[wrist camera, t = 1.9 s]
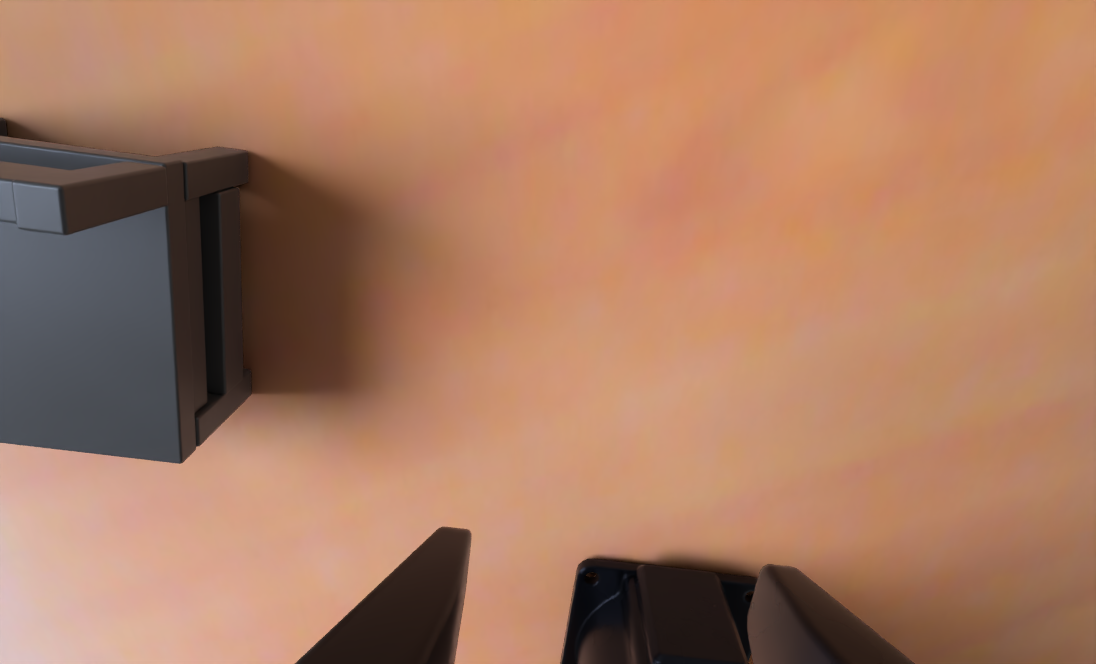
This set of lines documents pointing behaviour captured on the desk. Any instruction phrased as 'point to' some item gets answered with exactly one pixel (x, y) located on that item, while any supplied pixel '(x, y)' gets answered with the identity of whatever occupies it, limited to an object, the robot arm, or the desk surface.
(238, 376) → the chair
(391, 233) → the desk surface
